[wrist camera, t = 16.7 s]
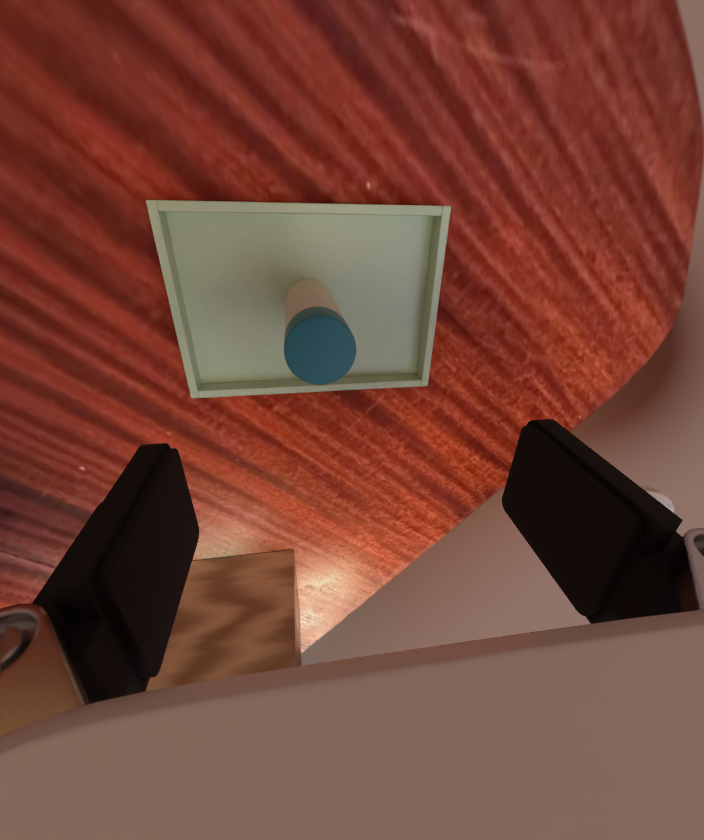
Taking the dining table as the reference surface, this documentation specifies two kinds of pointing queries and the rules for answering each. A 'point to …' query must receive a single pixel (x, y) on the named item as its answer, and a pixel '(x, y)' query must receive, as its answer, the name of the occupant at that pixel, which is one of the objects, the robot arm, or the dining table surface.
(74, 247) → the dining table surface
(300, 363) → the pen
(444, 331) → the dining table surface
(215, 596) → the pen stand
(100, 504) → the robot arm
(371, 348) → the tray
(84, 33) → the dining table surface
